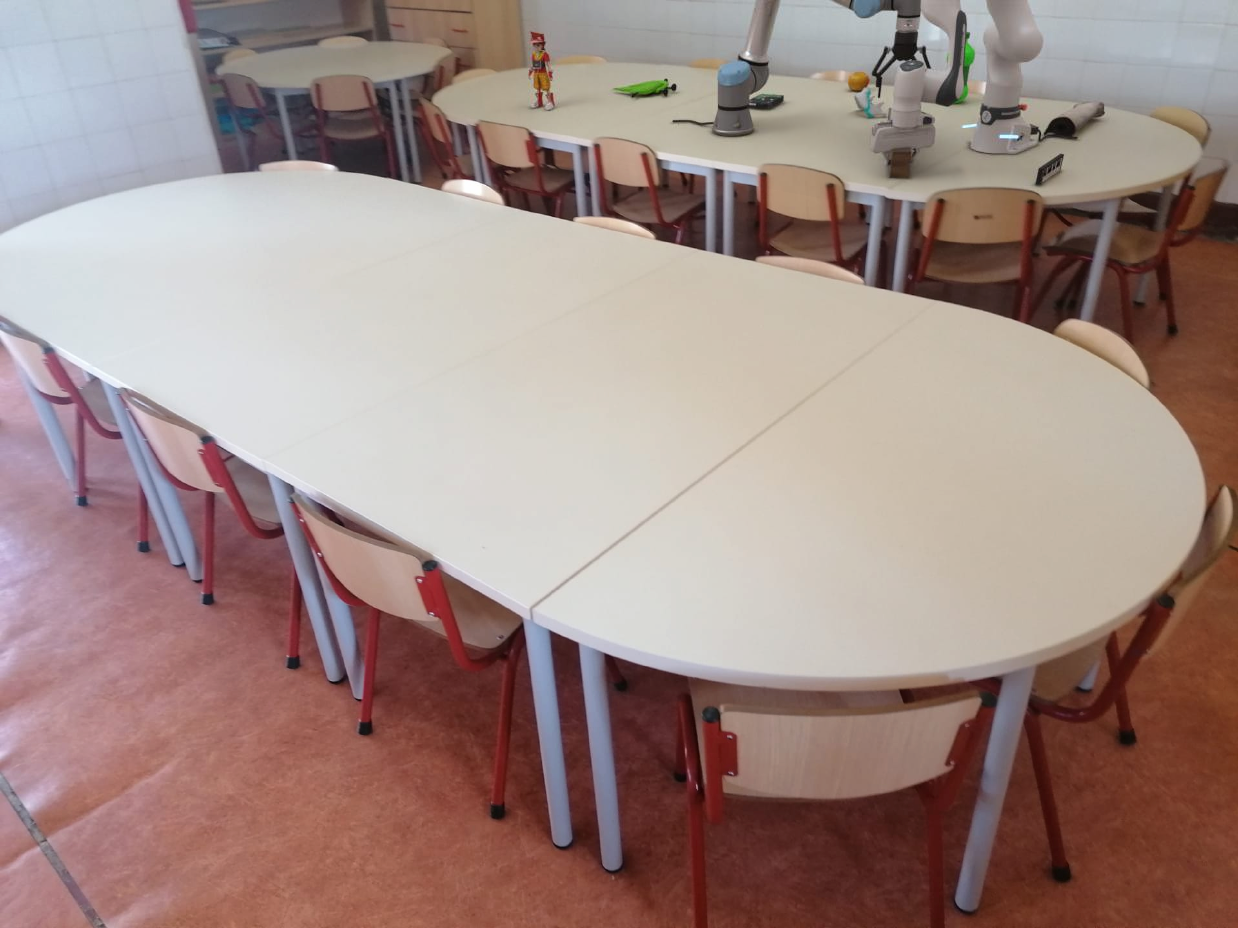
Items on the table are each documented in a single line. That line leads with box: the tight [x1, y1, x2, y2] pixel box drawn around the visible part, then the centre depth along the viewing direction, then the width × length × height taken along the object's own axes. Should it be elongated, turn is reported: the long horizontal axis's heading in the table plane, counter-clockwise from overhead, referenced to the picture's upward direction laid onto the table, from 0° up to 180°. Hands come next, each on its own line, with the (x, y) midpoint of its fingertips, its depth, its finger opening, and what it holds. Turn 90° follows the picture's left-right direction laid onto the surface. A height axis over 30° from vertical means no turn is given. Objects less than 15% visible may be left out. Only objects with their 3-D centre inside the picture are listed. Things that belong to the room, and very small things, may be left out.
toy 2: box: [612, 78, 677, 99], centre depth 396 cm, size 28×5×30 cm
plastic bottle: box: [946, 31, 976, 104], centre depth 348 cm, size 10×10×25 cm
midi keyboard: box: [1035, 153, 1065, 186], centre depth 273 cm, size 18×1×5 cm, turn 138°
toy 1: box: [527, 31, 556, 111], centre depth 374 cm, size 12×9×30 cm
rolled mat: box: [1043, 100, 1106, 137], centre depth 316 cm, size 30×9×10 cm
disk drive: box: [749, 93, 785, 110], centre depth 365 cm, size 10×3×15 cm
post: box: [886, 107, 912, 179], centre depth 301 cm, size 54×6×8 cm, turn 167°
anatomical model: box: [853, 87, 888, 119], centre depth 345 cm, size 15×10×10 cm
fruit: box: [847, 71, 870, 92], centre depth 377 cm, size 8×8×8 cm
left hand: (898, 97), depth 313 cm, fingers open, 13 cm apart
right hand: (899, 163), depth 285 cm, fingers closed on post, 7 cm apart
